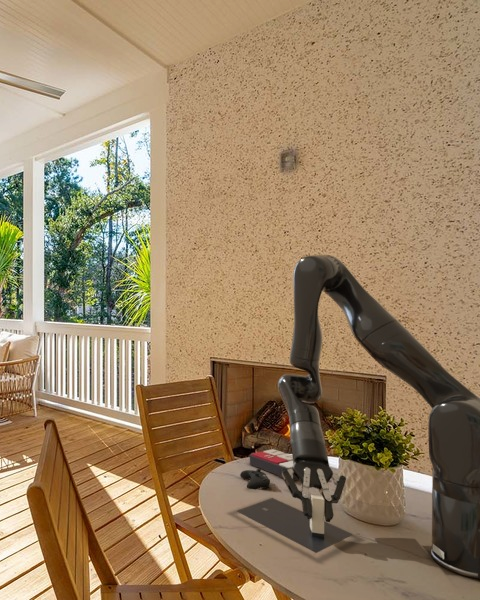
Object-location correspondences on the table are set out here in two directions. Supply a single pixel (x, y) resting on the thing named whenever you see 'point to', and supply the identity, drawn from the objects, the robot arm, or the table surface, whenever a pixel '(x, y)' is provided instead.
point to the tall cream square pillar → (317, 515)
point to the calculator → (272, 461)
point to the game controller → (256, 479)
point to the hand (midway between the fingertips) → (319, 518)
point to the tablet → (293, 524)
